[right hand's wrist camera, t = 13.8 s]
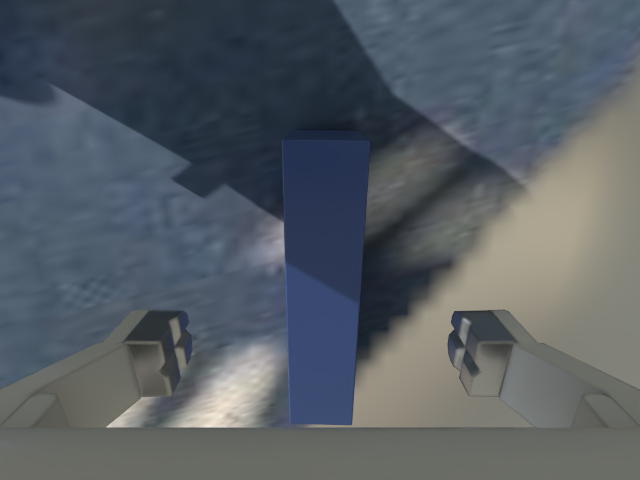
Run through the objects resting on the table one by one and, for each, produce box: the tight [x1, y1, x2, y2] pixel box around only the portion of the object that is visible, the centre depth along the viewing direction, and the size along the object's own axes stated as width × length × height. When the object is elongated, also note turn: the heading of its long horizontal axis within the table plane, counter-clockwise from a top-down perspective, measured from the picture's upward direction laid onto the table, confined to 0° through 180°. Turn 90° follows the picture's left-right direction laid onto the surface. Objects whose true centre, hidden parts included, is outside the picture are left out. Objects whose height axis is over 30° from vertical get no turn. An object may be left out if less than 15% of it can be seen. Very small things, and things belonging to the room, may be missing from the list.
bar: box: [282, 130, 371, 425], centre depth 27 cm, size 23×5×8 cm, turn 179°
